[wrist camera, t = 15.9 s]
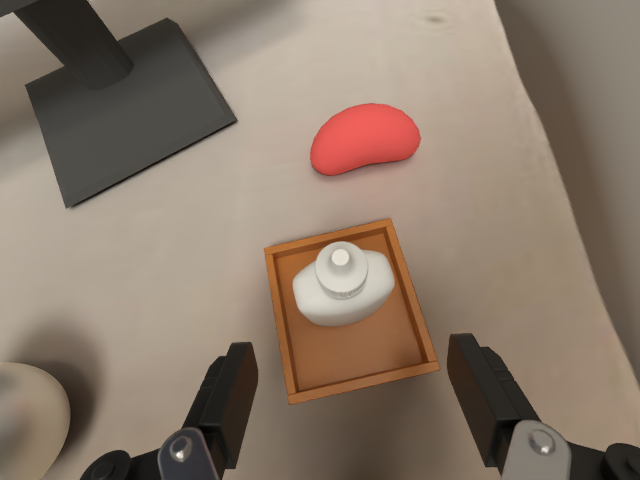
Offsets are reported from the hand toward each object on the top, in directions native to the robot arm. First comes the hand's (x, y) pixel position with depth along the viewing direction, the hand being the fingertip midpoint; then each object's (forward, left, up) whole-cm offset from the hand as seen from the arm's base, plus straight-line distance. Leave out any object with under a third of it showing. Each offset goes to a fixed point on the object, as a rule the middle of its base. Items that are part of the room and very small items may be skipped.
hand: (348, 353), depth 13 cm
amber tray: (+3, 0, -11) cm, 12 cm away
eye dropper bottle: (+4, -1, -11) cm, 11 cm away
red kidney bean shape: (+16, -5, -11) cm, 21 cm away
